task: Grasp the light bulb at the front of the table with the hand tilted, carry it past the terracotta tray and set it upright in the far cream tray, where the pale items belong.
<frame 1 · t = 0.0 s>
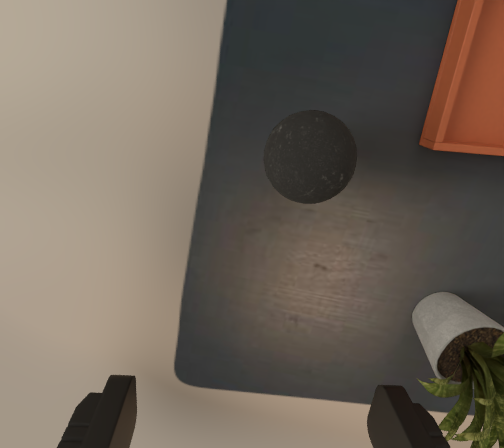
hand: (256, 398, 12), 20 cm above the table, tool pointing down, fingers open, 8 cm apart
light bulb: (291, 138, 29), on the table
house plant: (429, 304, 36), on the table
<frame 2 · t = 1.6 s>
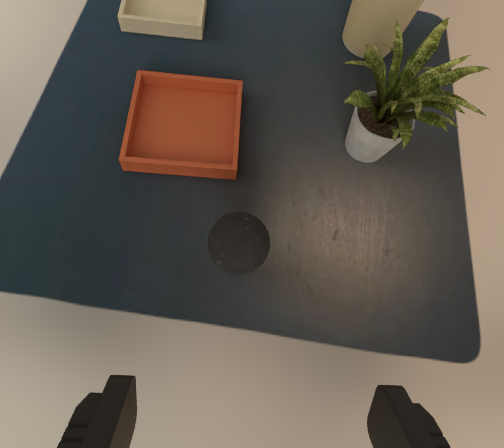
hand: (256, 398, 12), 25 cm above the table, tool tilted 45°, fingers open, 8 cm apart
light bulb: (234, 264, 39), on the table
coffee cup: (366, 42, 54), on the table
house plant: (357, 152, 46), on the table
terracotta tray: (186, 129, 45), on the table
cream tray: (167, 8, 52), on the table
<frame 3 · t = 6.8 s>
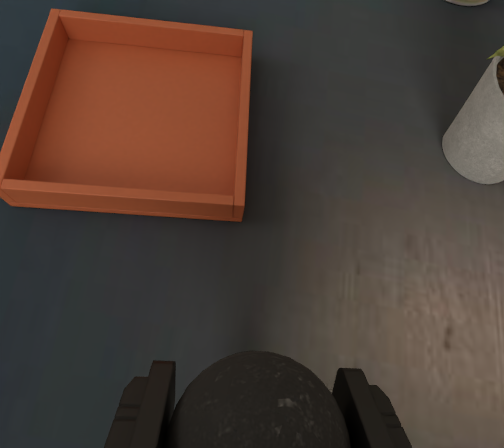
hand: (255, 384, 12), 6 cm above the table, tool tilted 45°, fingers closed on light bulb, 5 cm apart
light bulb: (240, 418, 18), on the table, touching gripper
house plant: (465, 164, 25), on the table
terracotta tray: (145, 122, 23), on the table
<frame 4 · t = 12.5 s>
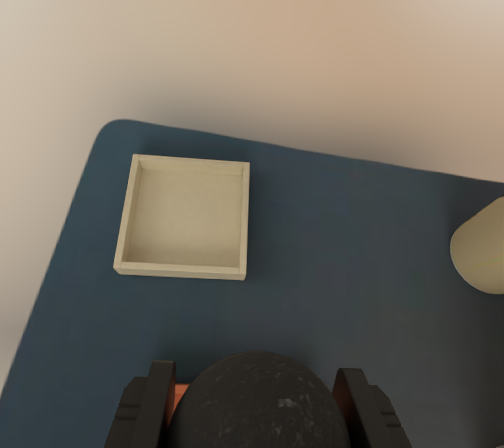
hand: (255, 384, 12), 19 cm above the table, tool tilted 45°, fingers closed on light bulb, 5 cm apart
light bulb: (240, 418, 18), point 12 cm above the table, touching gripper
coffee cup: (484, 257, 36), on the table
cream tray: (188, 220, 35), on the table
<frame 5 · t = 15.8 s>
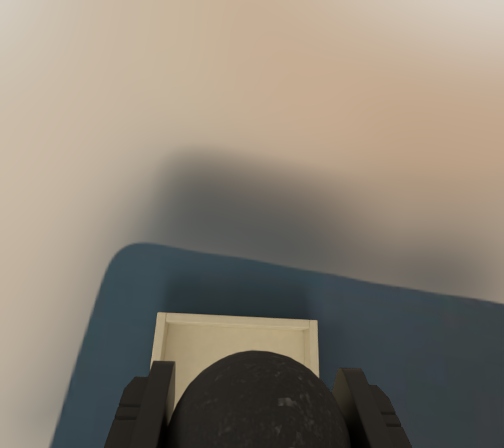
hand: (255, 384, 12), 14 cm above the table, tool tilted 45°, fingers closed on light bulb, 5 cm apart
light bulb: (240, 418, 18), point 8 cm above the table, touching gripper
cream tray: (232, 402, 25), on the table
when the fingers open (7 cm above the table, at t = 18.5 s): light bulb stays where it is, resting on cream tray.
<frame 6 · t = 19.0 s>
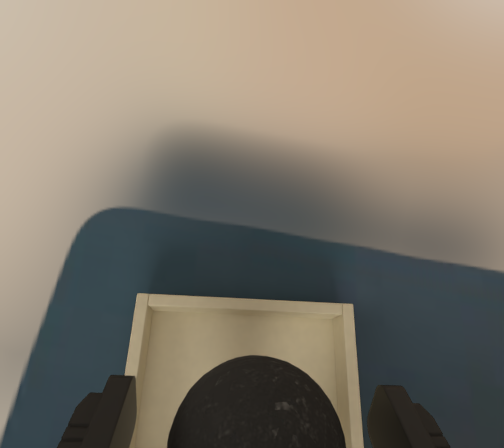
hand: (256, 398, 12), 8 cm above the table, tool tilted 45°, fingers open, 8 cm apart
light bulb: (240, 419, 18), resting on cream tray
cream tray: (239, 415, 18), on the table
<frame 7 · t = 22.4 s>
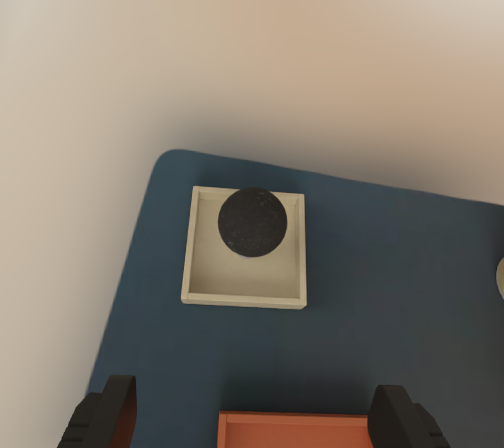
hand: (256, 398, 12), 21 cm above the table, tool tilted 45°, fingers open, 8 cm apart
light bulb: (245, 250, 36), resting on cream tray
cream tray: (245, 250, 36), on the table
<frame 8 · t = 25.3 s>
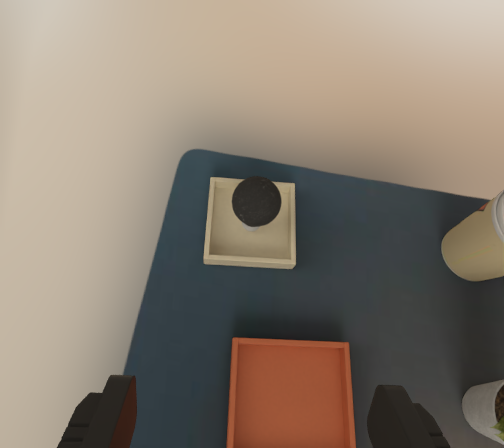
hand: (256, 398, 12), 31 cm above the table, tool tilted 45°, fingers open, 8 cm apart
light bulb: (250, 225, 47), resting on cream tray
coffee cup: (466, 254, 49), on the table
house plant: (476, 418, 41), on the table
terracotta tray: (288, 403, 40), on the table
cream tray: (250, 225, 47), on the table
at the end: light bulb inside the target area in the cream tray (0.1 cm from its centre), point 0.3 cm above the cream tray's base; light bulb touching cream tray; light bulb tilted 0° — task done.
